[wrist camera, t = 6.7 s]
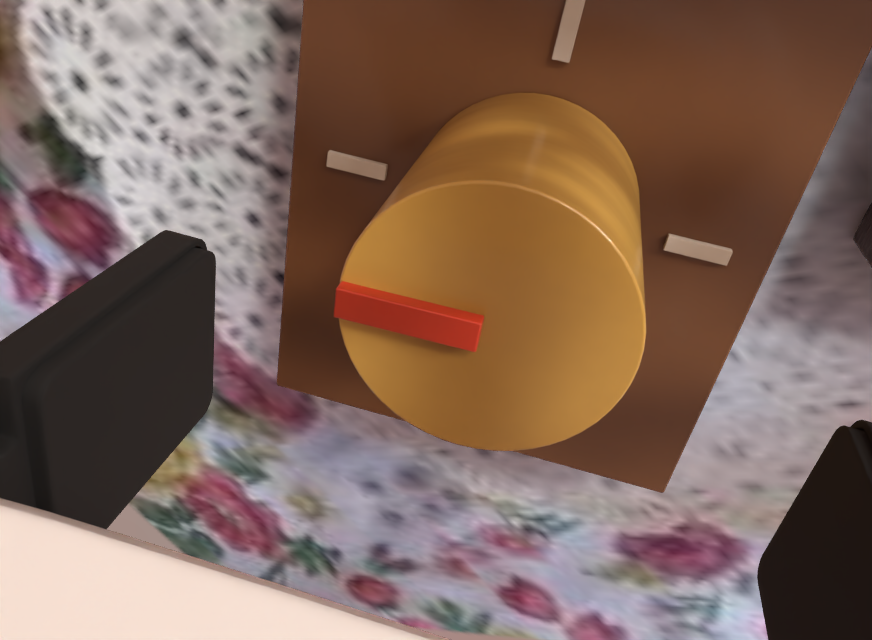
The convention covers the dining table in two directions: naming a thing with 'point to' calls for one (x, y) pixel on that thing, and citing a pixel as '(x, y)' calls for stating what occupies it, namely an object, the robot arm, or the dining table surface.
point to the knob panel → (626, 117)
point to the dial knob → (502, 278)
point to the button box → (865, 236)
